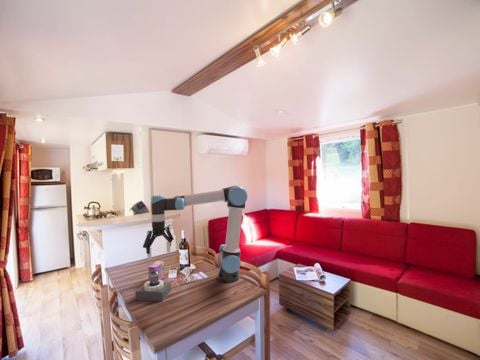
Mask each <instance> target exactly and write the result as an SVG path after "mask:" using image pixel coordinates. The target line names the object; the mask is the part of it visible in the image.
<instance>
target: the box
mask: <svg viewBox="0 0 480 360" xmlns="http://www.w3.org/2000/svg"><path fill="white" fill-rule="evenodd" d="M153 270H158V272H159V280H162V281H163V279H165V262H164V261H162V260H156V261H155V262H154V263H152V264H150V265H148V281H150V275H149V274H150V271H153Z"/></svg>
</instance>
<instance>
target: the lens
mask: <svg viewBox="0 0 480 360" xmlns="http://www.w3.org/2000/svg"><path fill="white" fill-rule="evenodd" d="M149 275H150V286H156V285H159V272H158V270H153V271H150V274H149V273H148V276H149Z"/></svg>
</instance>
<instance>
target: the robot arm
mask: <svg viewBox="0 0 480 360" xmlns="http://www.w3.org/2000/svg"><path fill="white" fill-rule="evenodd" d="M150 199H151V200H150V207H151V208H150V209H151V228H152V230H147V233H146V237H145V240H144V243H143V245H142V248H144V249H146V251H145V252H146V254H147V259H148V260H152V258H153V257H152V248H151V247H152V245H153V243H154V241H155V239H157V238H158V237H163V238H164V239H165V240H166V253H171V252H172V251H171V247H172V243H173V241H174V236H173V234H172V233H171V230H170V226H166V217H165V216H166V214H165V212H166V211H168V212H169V211H181V210H183V211H184V210H185V207H190V206H196V205H203V204H205V205H206V204H211V203H218V202H223V203H226V207H227V208H228V217H227V227H226V233H225V234H226V236H225V244H220V246H219V269H218V273H217V280H218V281H220V282H223V283H233V282H236V281H238V280H239V279H240V272H239V270H240V267H241V263H242V262H241V259H240V258H241V249H240V246H239V245H240V235H241V229H242V228H241V227H242V219H243V217H242V216H243V210H245V208H246V202H247V200H248V191H247V190H246V189H245V188H244V187H243V186H240V185H231V186H227V187H224V188H222V189H220V190H213V191H207V192H200V193H198V192H197V193H193V194H191V193H190V194H185V195H176V196H173V197H171V198H165V195H162V194H161V195H160V194H159V195H157V194H156V195H152V196H151V197H150Z"/></svg>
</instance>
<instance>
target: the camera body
mask: <svg viewBox="0 0 480 360" xmlns="http://www.w3.org/2000/svg"><path fill="white" fill-rule="evenodd" d="M170 292H172V283H171V282H164V281H163V279H162V280H159V285H156V286H150V281H149V280H148V281H145V282H144V284H142V285H141V286H140V287H139V288H138V289H136V290H135V300H136V301H146V302H164V301H165V299H166V298H167V297H168V295H169V294H170Z"/></svg>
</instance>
